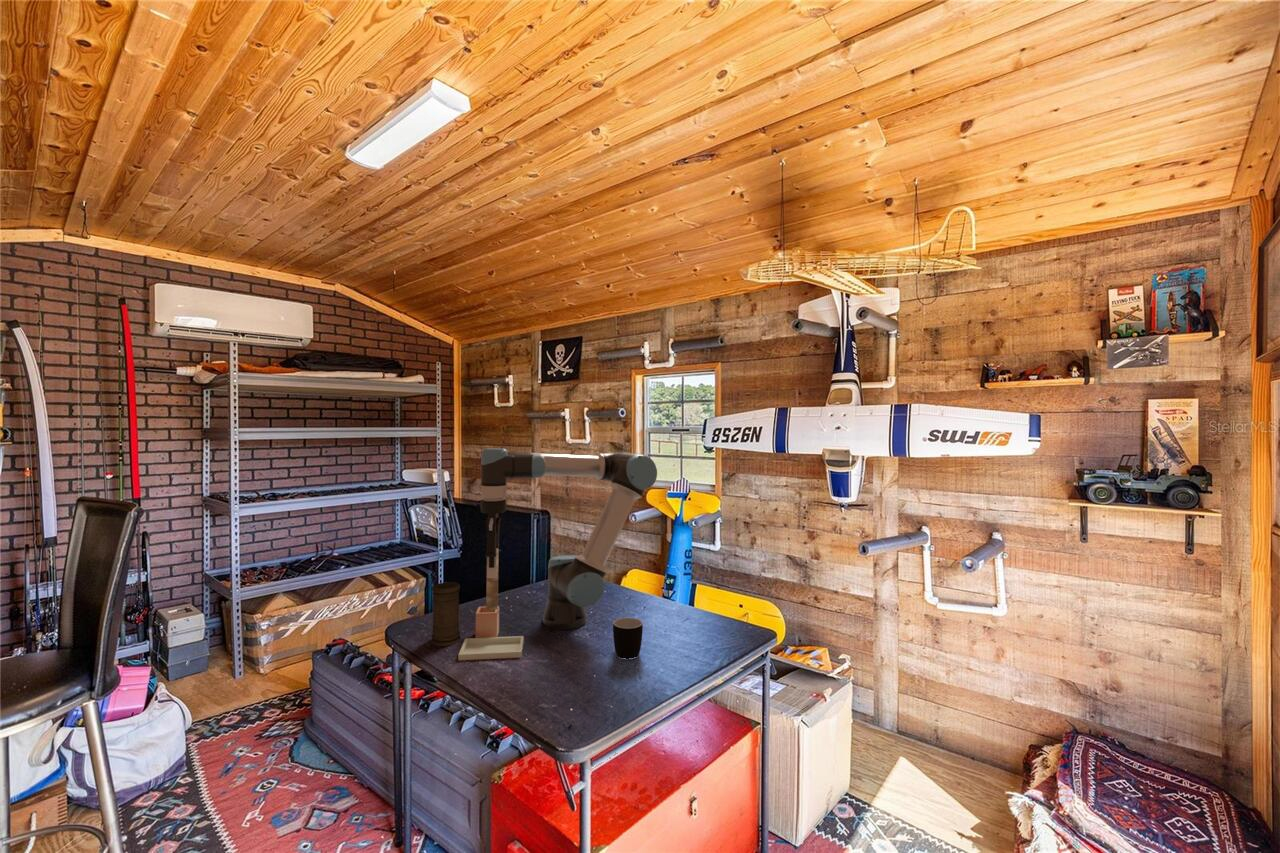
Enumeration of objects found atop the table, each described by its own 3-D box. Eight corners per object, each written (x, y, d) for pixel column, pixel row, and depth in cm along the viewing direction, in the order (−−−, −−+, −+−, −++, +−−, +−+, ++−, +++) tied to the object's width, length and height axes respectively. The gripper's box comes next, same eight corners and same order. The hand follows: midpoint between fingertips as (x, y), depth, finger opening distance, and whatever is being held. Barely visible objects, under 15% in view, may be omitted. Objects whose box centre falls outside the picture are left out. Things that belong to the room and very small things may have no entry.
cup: (498, 632, 185) (499, 605, 184) (496, 640, 178) (496, 612, 178) (478, 633, 184) (478, 606, 184) (475, 641, 177) (475, 613, 177)
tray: (523, 642, 177) (523, 636, 177) (521, 659, 165) (521, 651, 165) (465, 645, 174) (465, 638, 174) (458, 662, 162) (458, 654, 162)
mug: (648, 657, 167) (648, 624, 167) (623, 665, 162) (623, 630, 162) (626, 644, 177) (626, 612, 177) (602, 650, 172) (602, 618, 171)
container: (451, 648, 172) (451, 590, 171) (425, 646, 173) (425, 588, 173) (466, 637, 180) (466, 582, 180) (441, 635, 182) (441, 580, 182)
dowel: (498, 606, 171) (499, 548, 171) (497, 610, 168) (497, 550, 168) (487, 606, 171) (487, 548, 170) (485, 610, 167) (486, 550, 167)
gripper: (484, 495, 176) (483, 568, 177) (476, 503, 160) (475, 584, 160) (508, 495, 177) (507, 568, 178) (503, 503, 161) (502, 583, 161)
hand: (492, 575), depth 169 cm, fingers closed on dowel, 3 cm apart
